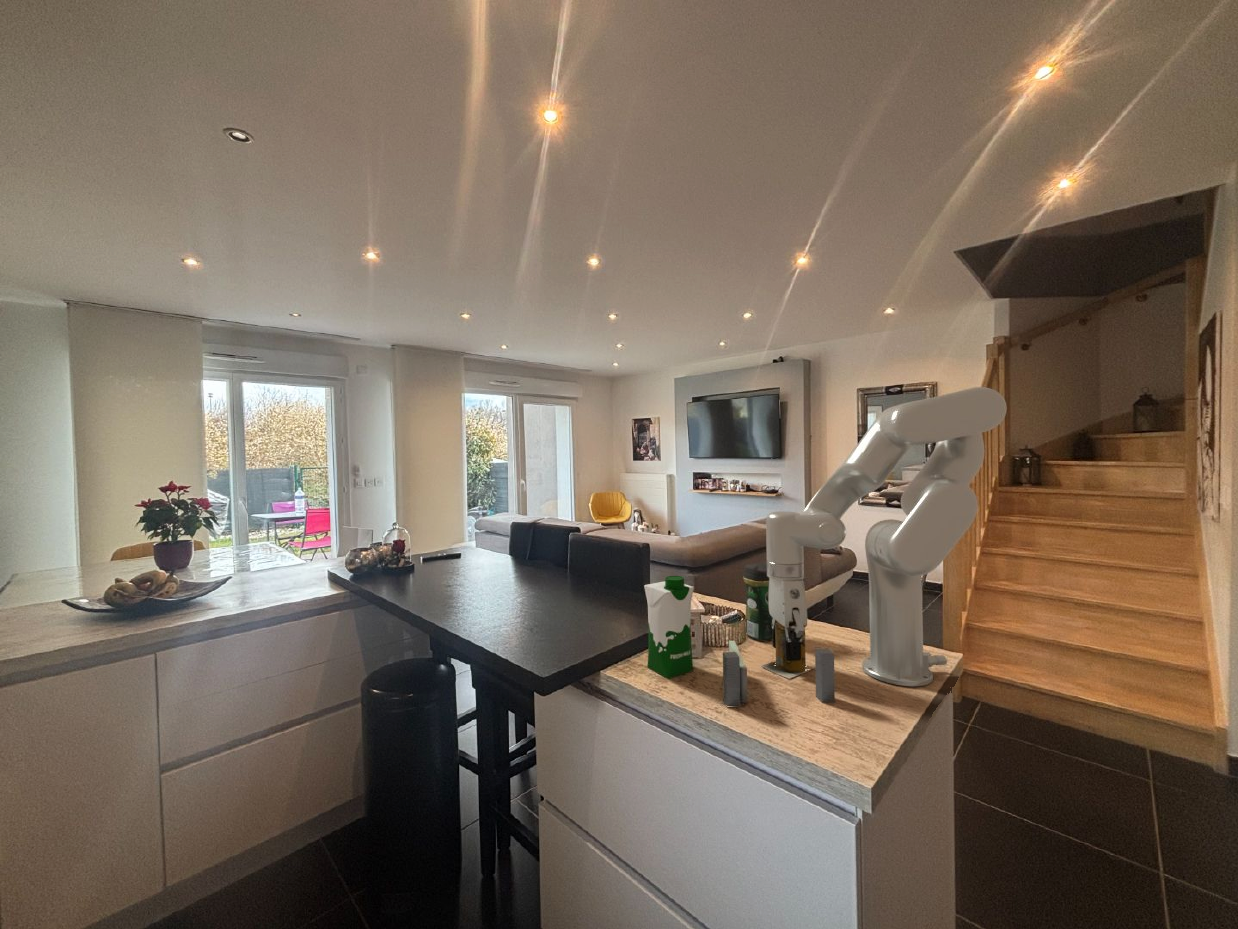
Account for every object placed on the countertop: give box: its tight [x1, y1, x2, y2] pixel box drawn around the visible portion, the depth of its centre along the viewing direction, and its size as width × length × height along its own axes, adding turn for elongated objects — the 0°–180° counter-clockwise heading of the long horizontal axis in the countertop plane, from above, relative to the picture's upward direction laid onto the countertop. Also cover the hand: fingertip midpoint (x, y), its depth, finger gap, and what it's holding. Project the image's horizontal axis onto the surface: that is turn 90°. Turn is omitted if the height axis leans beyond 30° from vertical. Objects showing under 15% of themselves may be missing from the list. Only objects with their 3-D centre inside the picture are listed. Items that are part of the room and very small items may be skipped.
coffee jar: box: [742, 561, 773, 642], centre depth 122 cm, size 10×8×19 cm
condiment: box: [761, 621, 815, 680], centre depth 103 cm, size 7×8×12 cm
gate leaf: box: [728, 640, 749, 703], centre depth 95 cm, size 2×14×6 cm, turn 175°
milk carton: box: [643, 575, 695, 680], centre depth 104 cm, size 9×9×20 cm
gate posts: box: [722, 647, 836, 707], centre depth 89 cm, size 20×2×9 cm, turn 93°
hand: (786, 652), depth 103 cm, fingers closed on condiment, 6 cm apart
